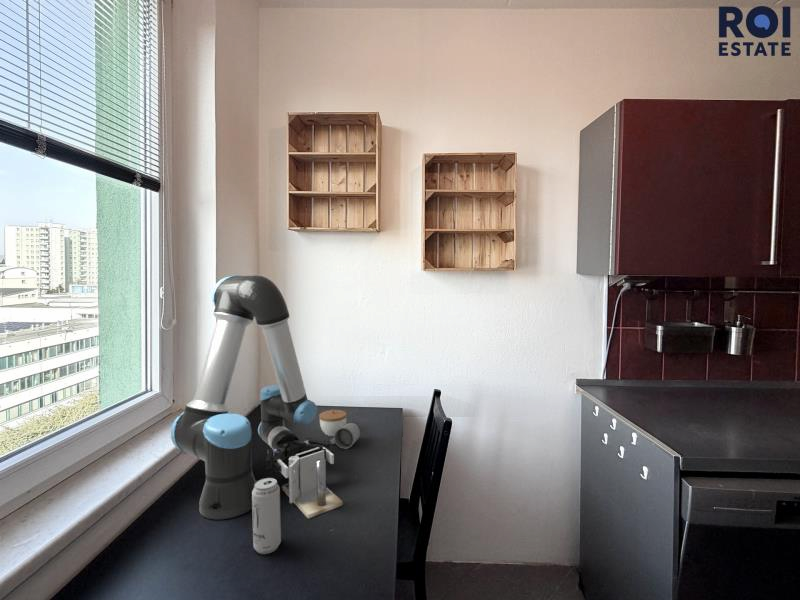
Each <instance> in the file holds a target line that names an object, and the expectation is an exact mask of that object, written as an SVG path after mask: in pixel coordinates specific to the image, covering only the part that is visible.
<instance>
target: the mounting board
mask: <svg viewBox="0 0 800 600" xmlns="http://www.w3.org/2000/svg"><path fill="white" fill-rule="evenodd" d="M326 488H327V489H328V490H329V491H330V492H331V493H332V495H330V496H327V497H326V505H325V506H318V505H317V500H316V501H313V502H310V503H308V504H305V505H301V504H300V503H299V502H298V501H297V500H296V499H295V501H294V502H293V504H294V505H295V506H296V507H297V508H298V509H299V511H300V512H302V514H303V515H304V516H305V517H306V518H307V519H311V518H314V517H316V516H319V515H322V514H324V513H327V512H329V511H331V510H334V509H337V508H340V507H341V506H343V505H344V503H343V500H342V499H341V498H339V496H337V495H336V494H335V493H333V491H332V490H330V489H329V488H328V487H327V486H326ZM281 490H282V492H284V493H285V495H286V496H287V497H288V498H289V491H288V490H287V489H286V488H285V487H284V485H281Z"/></svg>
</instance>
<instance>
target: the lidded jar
mask: <svg viewBox="0 0 800 600" xmlns="http://www.w3.org/2000/svg"><path fill="white" fill-rule="evenodd" d="M347 416H348V414H347V412H346V411H344V410H340V409H330V410H329V409H328V410H324V411H322V412H320V413H319V415H318V417H319V425H320V429H321V430H322V432H323V433H324V434H325V435H326V436H327V435H328V436H327V437H334V435H335V433H336V431H337V430H338V429H339V428H341V427H342V426H344V425H345V424H347Z"/></svg>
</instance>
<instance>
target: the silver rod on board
mask: <svg viewBox="0 0 800 600" xmlns="http://www.w3.org/2000/svg"><path fill="white" fill-rule="evenodd" d="M316 474H317V488H314V489H312V490H309V491H307V492H304V493H302V494H301V493H300V494H299V496H298V497H297V498H296V500H297V501H298V502H299V503H300V504H301V505H305V504H308V503H310V502H313V501H316V500H317V505H318V506H325V505H326V497H327V496H330V495H332V493H333V492H332V491H331V490H330V489H329V488H328V487H327V484H326V483H327V464H326V465H325V459H324V458H319V459H317V460H316ZM283 486H284V487H285V488H286V489H287V490H288V491H289V482H288V483H284V484H283ZM326 487H327V488H328V489H329V490H330V491H331V492H332V493H331V492H330V491H329V490H328V489H327V488H326Z"/></svg>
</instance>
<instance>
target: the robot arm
mask: <svg viewBox="0 0 800 600" xmlns="http://www.w3.org/2000/svg"><path fill="white" fill-rule="evenodd" d="M211 301H212V302H213V305H214V309H213V315H214V317H215V319H216V322H215V326H214V330H213V333H212V336H211V339H210V343H209V346H208V350H207V354H206V356H205V360H204V364H203V367H202V369H201V370H202V371H201V374H200V378H199V380H198V384H197V388H196V392H195V394H194V397H193V399H192V400H191V401H190V402H188V403H187V404H186V406H185V409H184V411H183V412H182V413H181V414H180V415H179V416H177V417H176V418H175V419H174V421H173V423H172V425H171V429H170V439H171V441H172V443H173V445H174V446H175V448H177V449H178V450H179V451H180V452H181V453H184V454H185V455H188V456H189V455H190V456H192V457H194V458H195V459H199V460H200V461H203V462H204V467H205V471H204V472H205V482H204V485H203V488H202V492H201V495H200V498H199V502H198V504H199V510H198V511H199V513H200V515H201V516H202V517H204V518H206V519H209V520H226V519H232V518H236V517H238V516H239V517H240V516H242V515H243V514H246V513H247V512H250V511H251V510H252V491H253V489H254V487H255V486H254V485H255V483H256V482H257V480H256V479H255V475H254V472H253V466H252V465H253V462H252V461H253V458H252V457H253V456H252V453H253V452H252V435H253V432H252V427H251V422H250V420H249V419H248V417H246V416H244V415H242V414H240V413H239V414H238V413H231V412H229V409H228V408H227V405H226V401H227V397H228V393H229V390H230V388H231V383H232V379H233V375H234V373H235V370H236V369H235V368H236V364H237V361H238V357H239V353H240V350H241V347H242V343H243V339H244V336H245V331H246V328H247V327H248V326H250V325H251V324H252V323H254V319H255V321H256V324H257V326H258V327H260V328H261V330H262V333H263V336H264V340H265V343H266V347H267V350H268V354H269V357H270V362H271V365H272V369H273V372H274V375H275V379H276V381H277V385H267V386H265V387H263V388H261V390H260V400H259V401H260V415H261V418H260V423H259V425H258V428H257V433H258V435H259V437H260V439H261V440H262V441H263V442H265V443H266V445H268V446H269V447H267V454H266V459H265V460H264V463H265V464H264V465H265V469H264V470H265V471H270V469H272V472H273V473H276V472H277V473H279V472H280V474H281V475H283V477H284V478H285V479H289V466H287V464H286V463H284V462H283V461H285V460H287V458H288V457H292V456H295V455H296V454H299V453H302V452H305V451H308V450H311V449H314V448H317V447H319V448H321V447H323V449H326V462H328V463H329V464H331V465H334V464H335V455H334V453H332V444H331V442H330V443H329V442H325V441H320V440H316V439H312V438H310V437H308V438H306V439H305V440H304V441H302V440H299V438H298V436H297V435H296V434H294V433H293V432H292V431H291V430H289V429H288V428H287V427H286V426H285V421H289V422H293V423H295V424H300V425H309V424H311V423H312V422H313V421H314V420H315V419H316V416H317V412H318V407H317V405H316V403H315V402H314V401H313V400H312V401H311V400H310V399H308V397H307V392H306V388H305V385H304V380H303V376H302V373H301V369H300V366H299V362H298V361H299V360H298V357H297V353H296V350H295V346H294V343H293V338H292V334H291V331H290V330H291V329H290V326H289V323H288V320H289V318H290V313H289V310H288V306H287V303H286V299H285V298H284V296H283V294H282V292H281V291H280V289H279V288H278V286H277V285H276V284H275V283H274V281H272V280H271V279H269V278H267V277H265V276H263V275H231V276H226V277H224V278H221V279H220V280H219V281H217V283H215V285H214V287H213V288H212V292H211Z"/></svg>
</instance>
